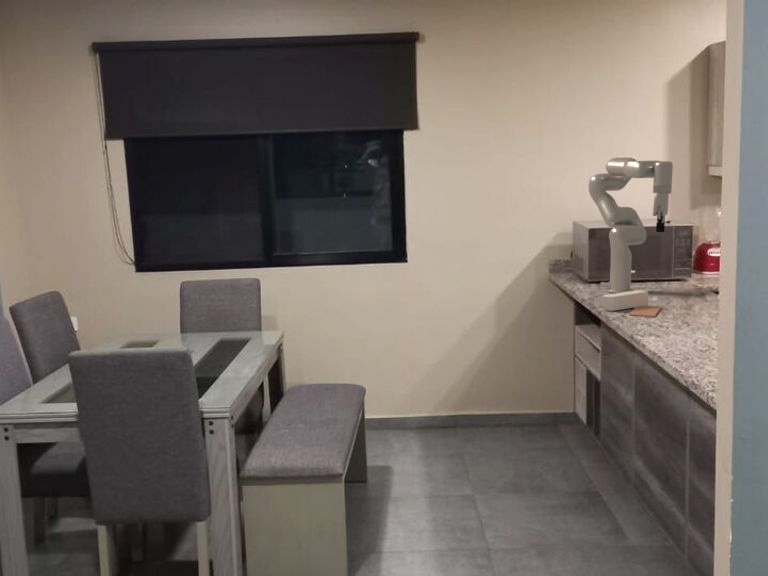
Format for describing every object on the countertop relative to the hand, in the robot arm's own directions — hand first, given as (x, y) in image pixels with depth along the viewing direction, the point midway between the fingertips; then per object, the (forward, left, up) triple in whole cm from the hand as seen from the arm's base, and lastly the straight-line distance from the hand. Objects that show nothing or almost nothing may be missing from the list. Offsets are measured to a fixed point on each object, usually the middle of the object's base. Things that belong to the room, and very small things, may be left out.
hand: (660, 231), depth 332 cm
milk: (-4, -14, -27) cm, 31 cm away
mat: (-1, -27, -31) cm, 41 cm away
